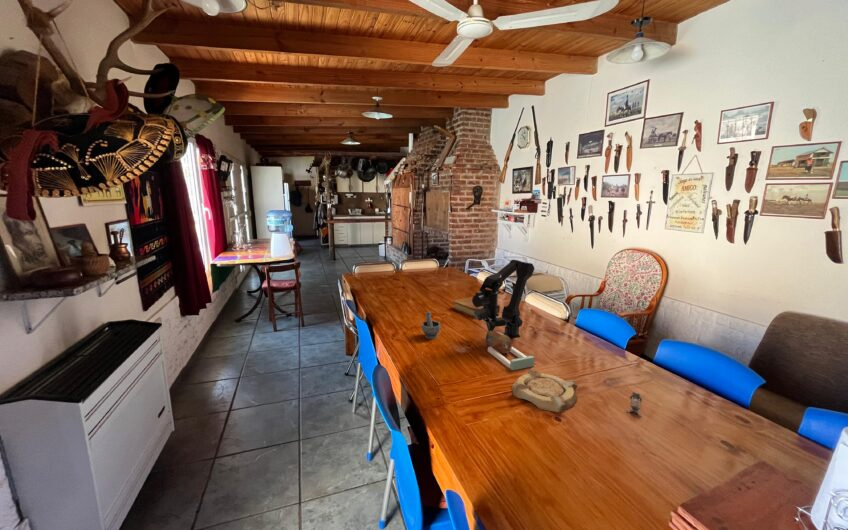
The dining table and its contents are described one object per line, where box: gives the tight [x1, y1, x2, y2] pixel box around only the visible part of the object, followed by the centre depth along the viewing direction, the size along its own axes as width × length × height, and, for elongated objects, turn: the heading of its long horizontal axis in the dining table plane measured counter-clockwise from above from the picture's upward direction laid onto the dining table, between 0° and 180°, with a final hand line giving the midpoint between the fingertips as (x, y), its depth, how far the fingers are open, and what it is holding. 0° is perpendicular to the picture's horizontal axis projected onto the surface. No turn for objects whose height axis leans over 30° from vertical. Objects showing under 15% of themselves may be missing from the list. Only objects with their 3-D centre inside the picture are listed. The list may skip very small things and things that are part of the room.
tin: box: [485, 329, 513, 355], centre depth 163 cm, size 15×3×8 cm, turn 31°
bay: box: [487, 346, 535, 371], centre depth 154 cm, size 11×20×4 cm, turn 20°
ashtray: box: [511, 368, 579, 413], centre depth 127 cm, size 24×24×5 cm
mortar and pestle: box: [421, 311, 442, 340], centre depth 178 cm, size 11×9×12 cm
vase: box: [623, 391, 643, 417], centre depth 116 cm, size 5×5×6 cm
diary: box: [452, 296, 501, 318], centre depth 219 cm, size 23×19×6 cm
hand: (490, 333), depth 170 cm, fingers closed
